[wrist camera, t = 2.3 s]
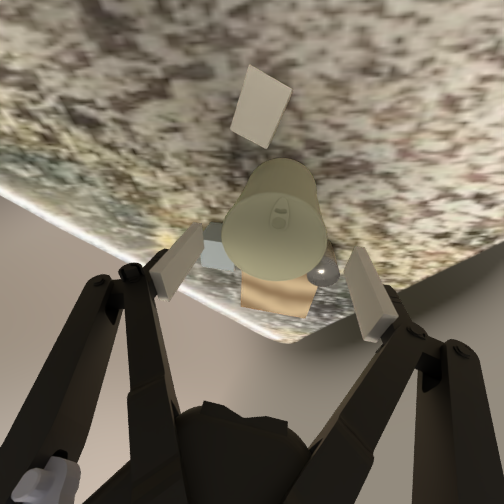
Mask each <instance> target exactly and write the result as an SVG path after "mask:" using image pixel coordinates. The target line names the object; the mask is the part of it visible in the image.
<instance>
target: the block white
mask: <svg viewBox="0 0 504 504" xmlns="http://www.w3.org/2000/svg"><path fill="white" fill-rule="evenodd" d="M292 93H293V89H291V88H290V87H288V86H286V85H284V84H283V83H281V82H279V81H277V80H276V79H274V78H272V77H271V76H269V75H267V74H265V73H264V72H262V71H260V70H258V69H257V68H255V67H253V66H251V65H250V64H249V67H248V71H247V74H246V77H245V81H244V84H243V87H242V91H241V94H240V97H239V101H238V104H237V107H236V111H235V114H234V117H233V121H232V124H231V127H230V130H231V131H233V132H235V133H237V134H238V135H240V136H242V137H244V138H246V139H248V140H250V141H252V142H254V143H256V144H257V145H259V146H261V147H263V148H265V149H267V148H268V146H269V145H270V143H271V141H272V139H273V136H274V134H275V132H276V129H277V127H278V125H279V123H280V120H281V118H282V116H283V113H284V111H285V109H286V106H287V104H288V102H289V100H290V97H291V95H292Z"/></svg>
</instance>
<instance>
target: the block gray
mask: <svg viewBox="0 0 504 504" xmlns="http://www.w3.org/2000/svg"><path fill="white" fill-rule="evenodd" d="M222 224H223V223H216V222H210V223H209V225H208V226H207V228H206V229H205V230H204V232H203V240H204V250H203V251H202V253H201V254H200V255H201V263H202V267H208V268H215V269H221V270H227V271H233V272H234V271H235V268H236V265H235V264H234V263H233V262H232V261H231V260H230V259H229V257H228V256H227V254H226V252H225V250H224V247H223V244H222V239H221V230H222Z"/></svg>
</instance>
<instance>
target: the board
mask: <svg viewBox="0 0 504 504" xmlns="http://www.w3.org/2000/svg"><path fill="white" fill-rule="evenodd" d="M317 287H318V286H315V285H313V284H311V283H310V282H309V281H308V279H307V273H306V274H305V275H303V276H300V277H298V278H295V279H292V280H287V281H267V280H262V279H258V278H255V277H253V276H250V275H248V274H247V273H245V272H243V271H242V288H241V307H246V308H251V309H257V310H262V311H268V312H273V313H278V314H284V315H289V316H294V317H300V318H306V316H307V313H308V310H309V308H310V305H311V303H312V300H313V297H314V295H315V292H316V290H317Z"/></svg>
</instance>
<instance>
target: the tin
mask: <svg viewBox="0 0 504 504" xmlns="http://www.w3.org/2000/svg"><path fill="white" fill-rule="evenodd" d="M339 277H340V273H339V269H338V265H337V261H336V257H335V253H334V249H333V246H332V243H331V242H330V241H329V240H328V239H327V247H326V251H325V253H324V255H323V257H322V259H321V260H320V262H319V263H318V264H317V265H316V266H315V267H314V268H313V269H312V270H311V271H309V272H308V273H307V279H308V281H309V282H310V283H311V284H313V285H315V286H320V287H325V286H330V285H332V284H334V283H336V282H337V281H338V279H339Z"/></svg>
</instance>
